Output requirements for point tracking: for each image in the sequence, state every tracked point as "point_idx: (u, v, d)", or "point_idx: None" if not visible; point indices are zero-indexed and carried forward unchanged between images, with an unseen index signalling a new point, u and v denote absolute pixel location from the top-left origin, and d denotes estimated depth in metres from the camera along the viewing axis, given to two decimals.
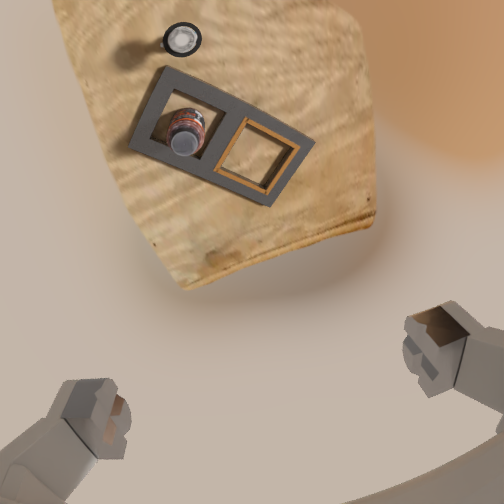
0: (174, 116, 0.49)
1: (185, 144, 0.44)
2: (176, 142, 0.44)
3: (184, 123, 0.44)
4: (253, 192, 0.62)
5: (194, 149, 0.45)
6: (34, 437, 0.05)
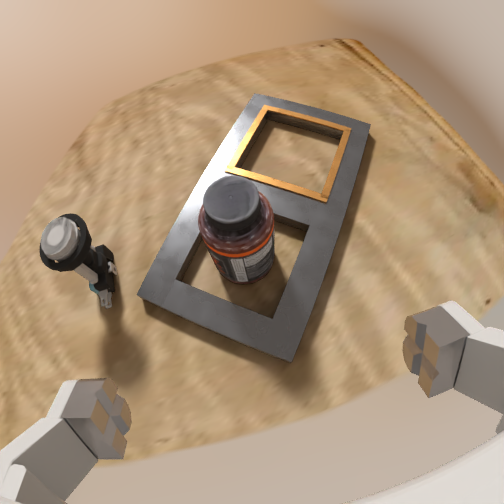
0: (219, 267, 0.29)
1: (230, 195, 0.22)
2: (226, 211, 0.22)
3: (200, 217, 0.25)
4: (352, 145, 0.36)
5: (241, 179, 0.23)
6: (34, 437, 0.05)
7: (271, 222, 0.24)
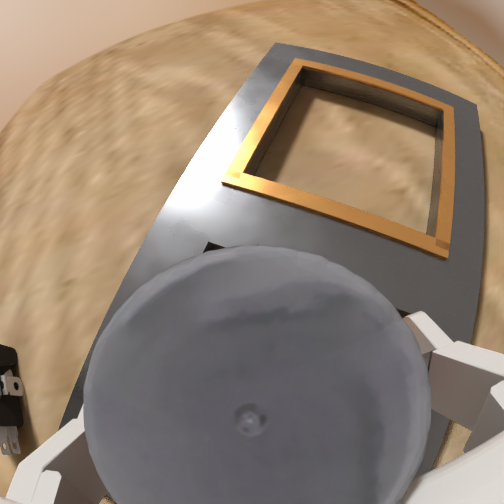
0: None
1: (251, 408, 0.03)
2: None
3: None
4: (463, 137, 0.16)
5: (321, 275, 0.03)
6: (66, 440, 0.05)
7: None
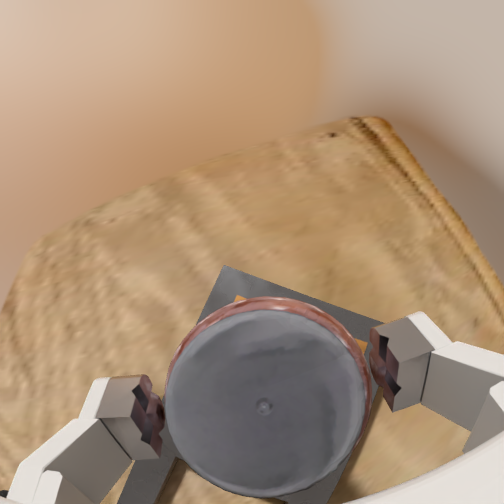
0: None
1: (264, 400, 0.06)
2: (251, 464, 0.05)
3: None
4: None
5: (303, 329, 0.06)
6: (67, 440, 0.05)
7: (368, 415, 0.08)
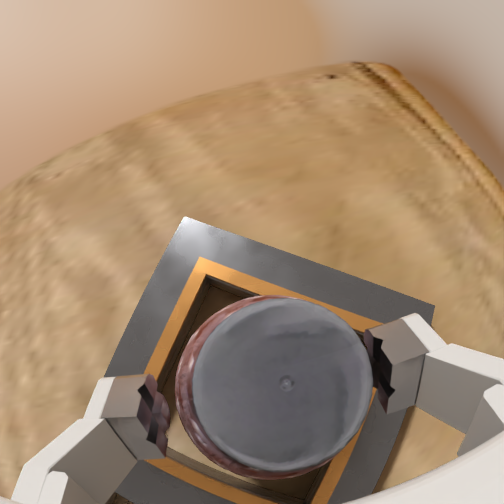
0: None
1: (287, 377, 0.06)
2: (269, 437, 0.06)
3: (183, 384, 0.08)
4: None
5: (325, 317, 0.07)
6: (73, 440, 0.05)
7: None
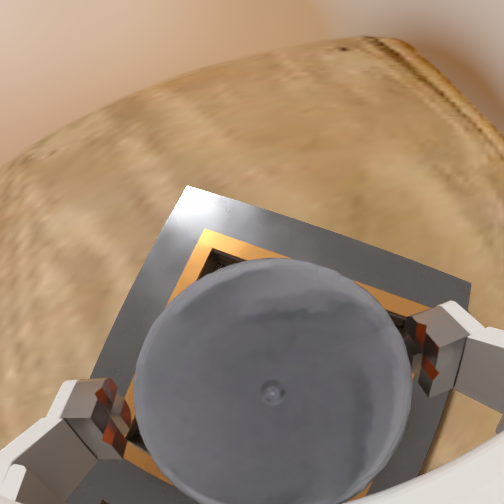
0: None
1: (274, 383, 0.04)
2: (245, 474, 0.03)
3: None
4: None
5: (335, 286, 0.04)
6: (34, 437, 0.05)
7: None
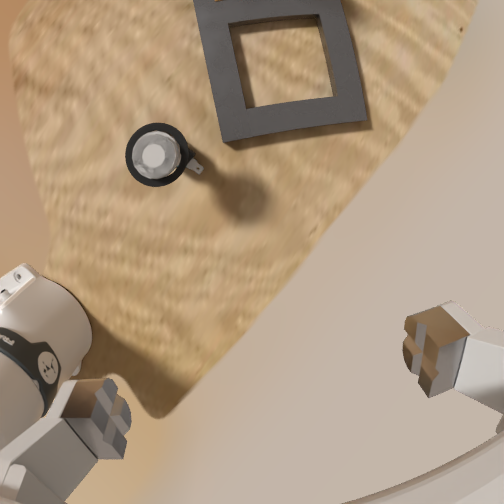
0: None
1: None
2: None
3: None
4: None
5: None
6: (34, 437, 0.05)
7: None
